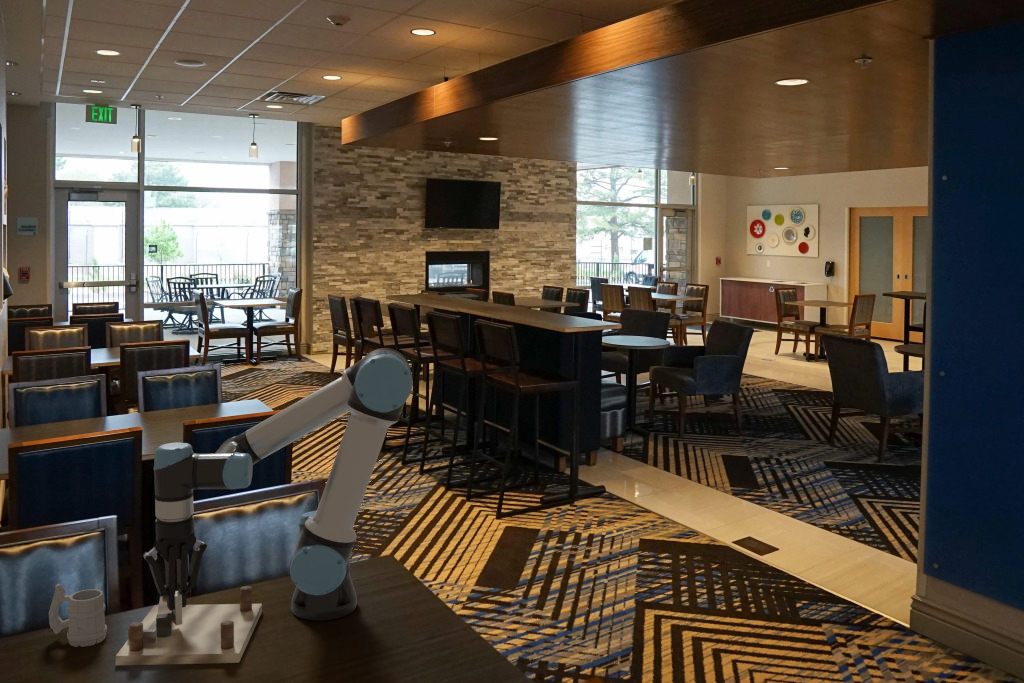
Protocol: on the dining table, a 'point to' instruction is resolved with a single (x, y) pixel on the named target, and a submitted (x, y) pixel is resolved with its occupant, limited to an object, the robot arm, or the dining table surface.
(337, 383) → the robot arm
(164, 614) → the brown piece
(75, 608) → the mug
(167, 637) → the stool seat
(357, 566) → the dining table surface
